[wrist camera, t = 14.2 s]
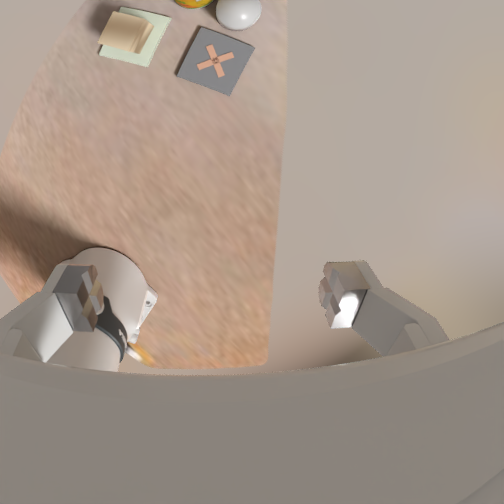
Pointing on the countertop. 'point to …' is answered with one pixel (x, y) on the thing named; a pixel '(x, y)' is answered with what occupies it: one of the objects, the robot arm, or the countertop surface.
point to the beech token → (126, 32)
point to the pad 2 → (215, 61)
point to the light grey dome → (238, 13)
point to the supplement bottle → (193, 3)
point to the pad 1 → (149, 46)
